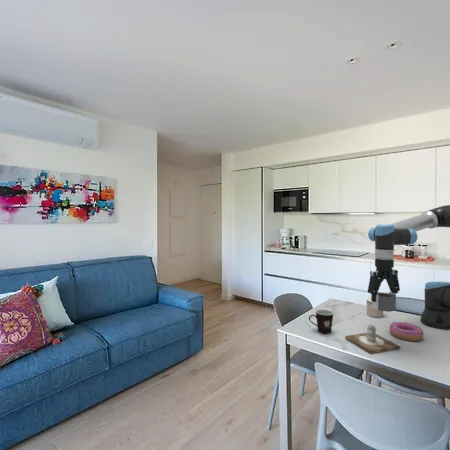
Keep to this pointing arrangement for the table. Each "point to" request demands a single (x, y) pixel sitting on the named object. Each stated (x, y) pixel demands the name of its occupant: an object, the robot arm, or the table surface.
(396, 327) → the donut
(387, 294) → the ring
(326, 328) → the coffee mug
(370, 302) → the teacup with lid
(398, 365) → the table surface
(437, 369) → the table surface
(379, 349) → the post stand
